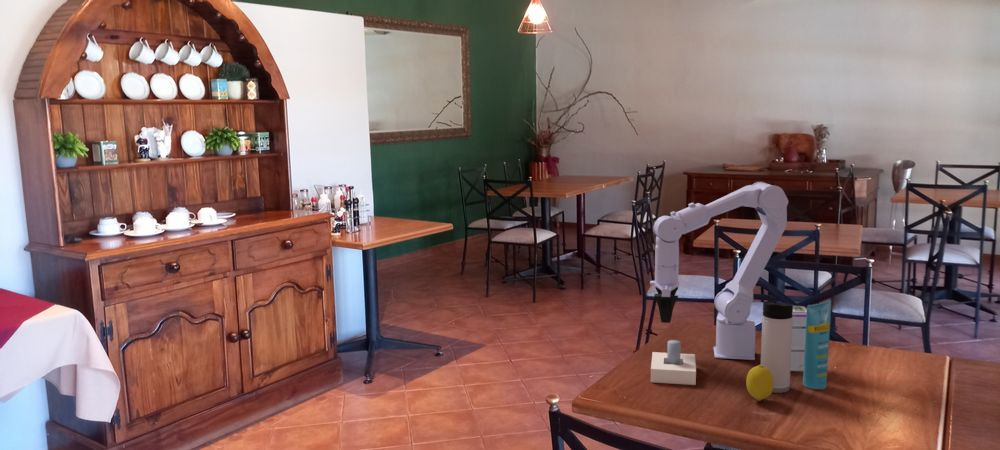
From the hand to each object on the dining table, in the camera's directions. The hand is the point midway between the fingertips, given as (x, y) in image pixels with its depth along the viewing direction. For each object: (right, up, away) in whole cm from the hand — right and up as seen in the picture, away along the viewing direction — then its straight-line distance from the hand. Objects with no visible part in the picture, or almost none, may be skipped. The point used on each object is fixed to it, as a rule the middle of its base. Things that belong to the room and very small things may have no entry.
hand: (666, 318), depth 191 cm
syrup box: (+29, -11, -8) cm, 32 cm away
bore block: (-1, -12, -11) cm, 16 cm away
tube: (+29, -13, -20) cm, 38 cm away
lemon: (+14, -15, -28) cm, 34 cm away
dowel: (-1, -11, -12) cm, 16 cm away
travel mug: (+20, -13, -21) cm, 32 cm away
